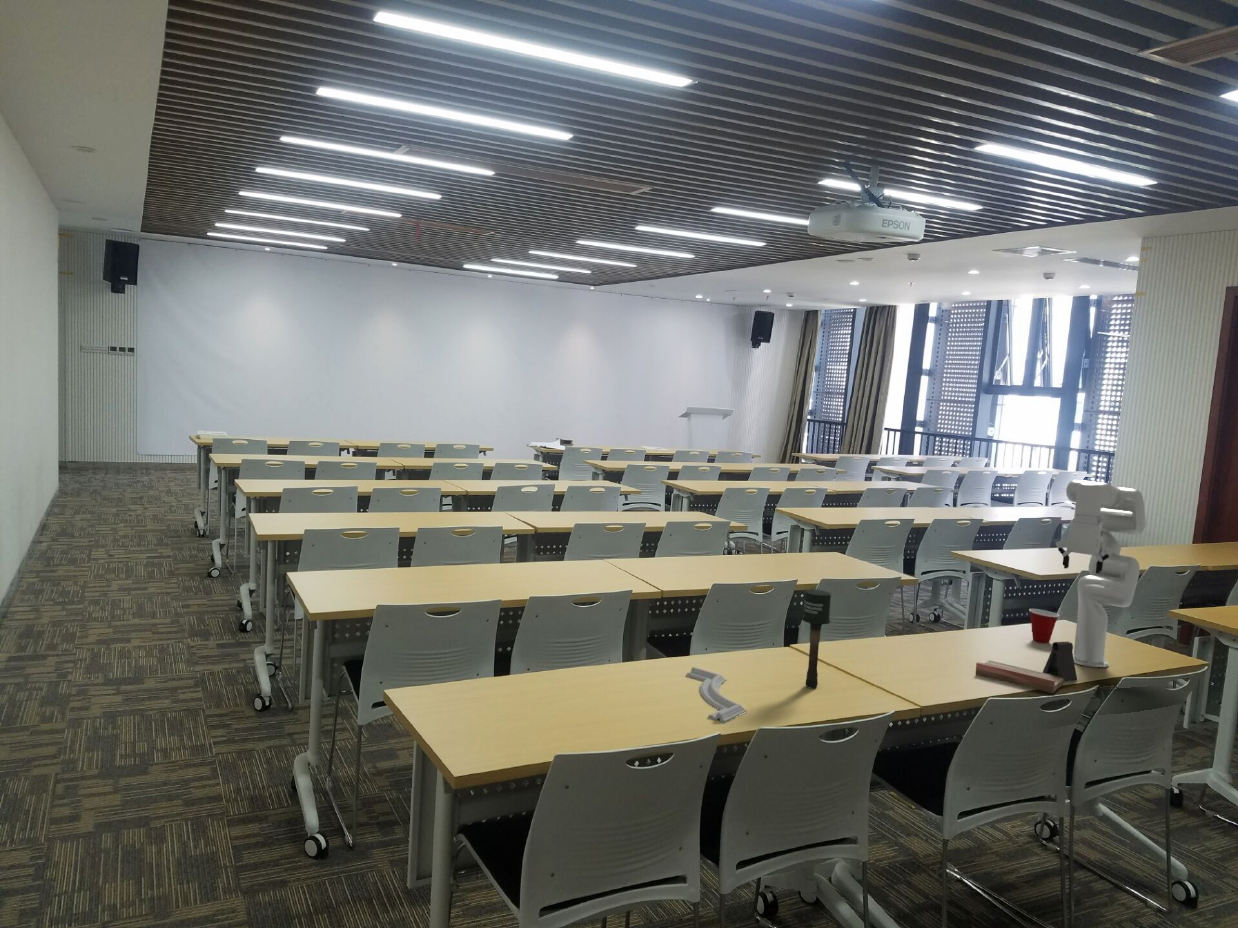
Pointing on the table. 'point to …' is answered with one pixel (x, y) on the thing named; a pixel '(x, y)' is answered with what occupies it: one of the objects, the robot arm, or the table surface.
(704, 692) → the molding
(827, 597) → the stick grenade
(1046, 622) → the plastic cup
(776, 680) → the table surface
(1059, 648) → the door stopper
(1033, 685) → the board
